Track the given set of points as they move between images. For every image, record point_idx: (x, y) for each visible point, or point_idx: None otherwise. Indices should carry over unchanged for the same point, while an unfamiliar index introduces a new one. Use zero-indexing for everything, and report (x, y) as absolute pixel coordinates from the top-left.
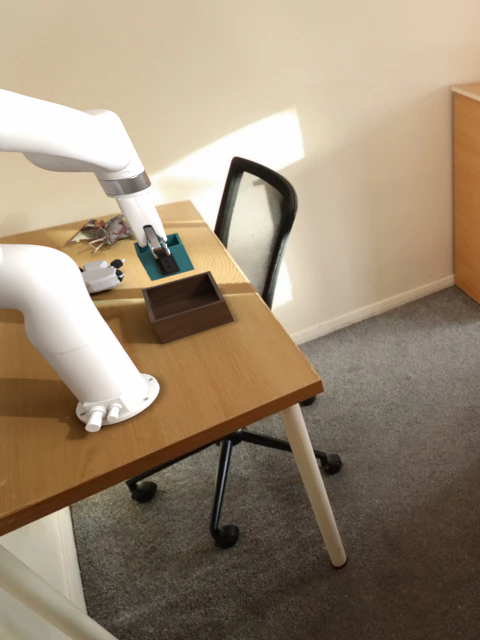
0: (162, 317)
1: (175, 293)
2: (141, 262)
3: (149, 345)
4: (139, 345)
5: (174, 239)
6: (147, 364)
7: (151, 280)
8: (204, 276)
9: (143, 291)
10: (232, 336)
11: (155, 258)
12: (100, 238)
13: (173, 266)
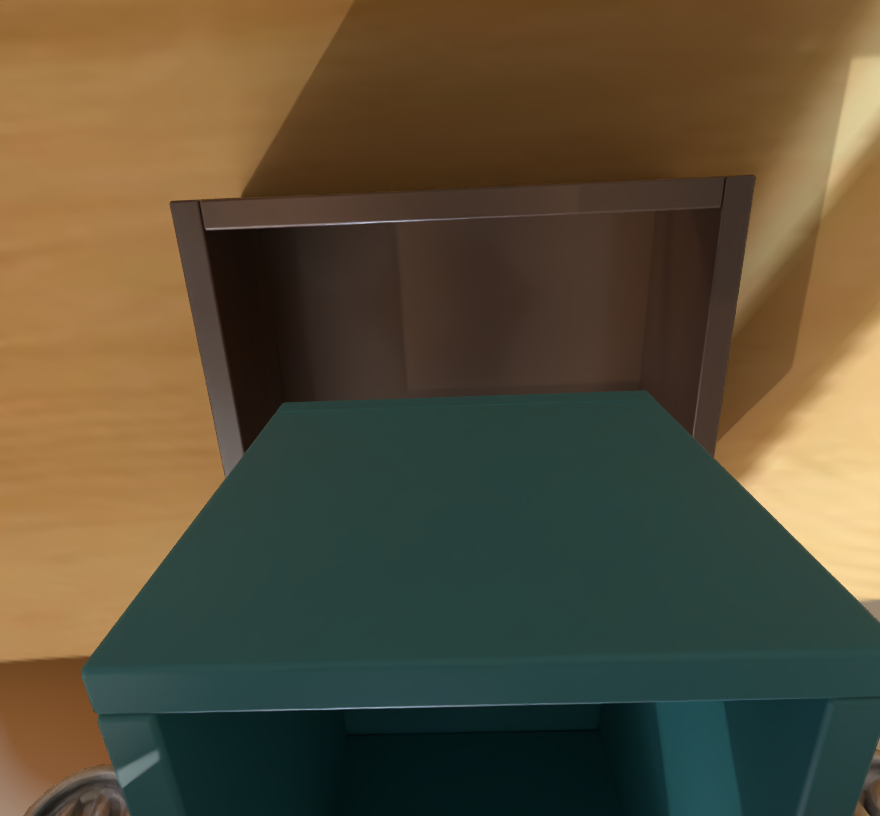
0: (512, 227)
1: (663, 352)
2: (175, 554)
3: (263, 122)
4: (292, 63)
5: None
6: (63, 94)
7: (281, 408)
8: None
9: (710, 188)
10: (158, 503)
11: (28, 810)
12: None
13: None
